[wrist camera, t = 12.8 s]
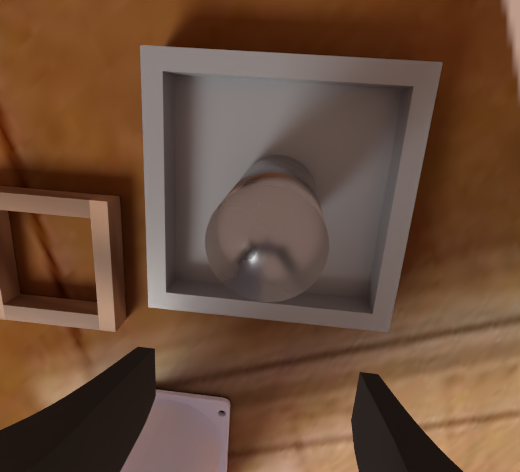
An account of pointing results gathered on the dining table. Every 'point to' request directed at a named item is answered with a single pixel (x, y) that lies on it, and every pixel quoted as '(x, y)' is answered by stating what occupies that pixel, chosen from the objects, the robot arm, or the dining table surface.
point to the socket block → (104, 250)
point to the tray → (292, 145)
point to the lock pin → (269, 232)
